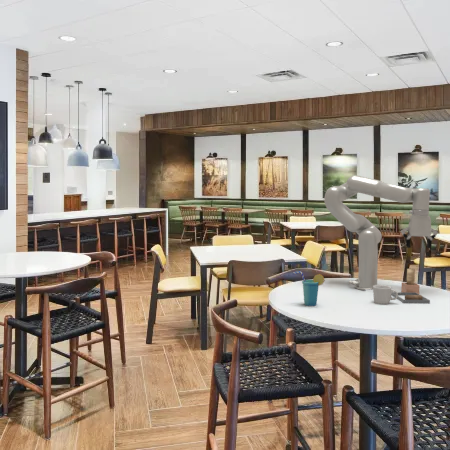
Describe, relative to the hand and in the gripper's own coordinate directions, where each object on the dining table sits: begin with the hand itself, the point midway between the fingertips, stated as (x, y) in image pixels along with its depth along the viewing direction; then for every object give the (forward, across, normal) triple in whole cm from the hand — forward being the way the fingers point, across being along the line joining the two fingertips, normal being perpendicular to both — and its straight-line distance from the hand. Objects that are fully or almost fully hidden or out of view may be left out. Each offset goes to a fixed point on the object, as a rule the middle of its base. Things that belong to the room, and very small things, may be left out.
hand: (418, 247), depth 231 cm
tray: (+23, -7, -16) cm, 29 cm away
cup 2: (+24, -21, -25) cm, 40 cm away
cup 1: (+24, -55, -30) cm, 67 cm away
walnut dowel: (+23, -7, -20) cm, 31 cm away
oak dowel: (+22, -4, -3) cm, 23 cm away
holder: (+23, -4, -3) cm, 24 cm away
